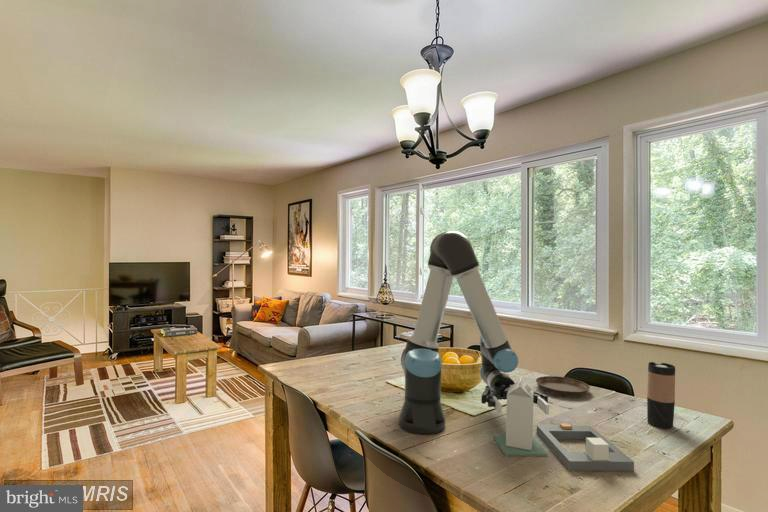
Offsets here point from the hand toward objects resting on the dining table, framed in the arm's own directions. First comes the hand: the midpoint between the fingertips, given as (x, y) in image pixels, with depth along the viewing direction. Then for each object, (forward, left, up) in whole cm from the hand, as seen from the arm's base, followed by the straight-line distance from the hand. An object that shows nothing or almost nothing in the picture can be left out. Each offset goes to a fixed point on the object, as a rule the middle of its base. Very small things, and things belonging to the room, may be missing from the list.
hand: (523, 409), depth 117 cm
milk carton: (0, +3, -12) cm, 12 cm away
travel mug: (+53, +19, -12) cm, 58 cm away
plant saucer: (+35, +52, -12) cm, 64 cm away
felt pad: (0, +3, -12) cm, 12 cm away
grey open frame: (+17, +1, -12) cm, 21 cm away
